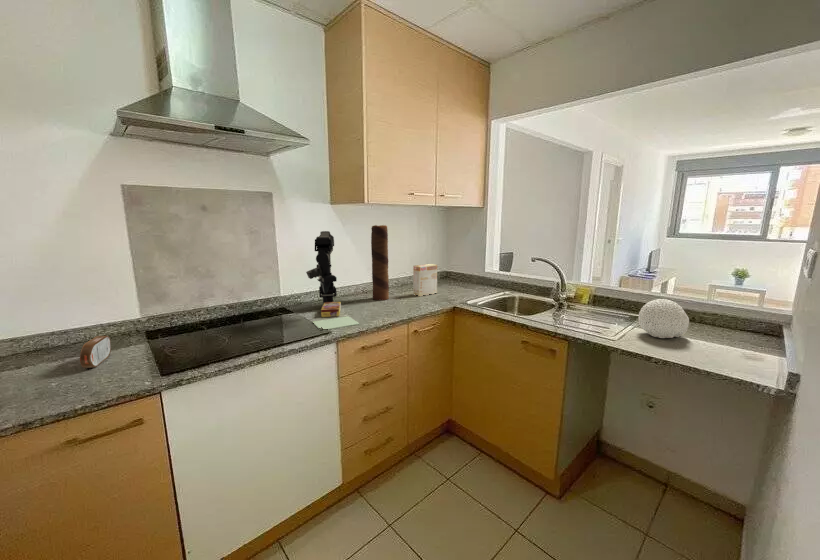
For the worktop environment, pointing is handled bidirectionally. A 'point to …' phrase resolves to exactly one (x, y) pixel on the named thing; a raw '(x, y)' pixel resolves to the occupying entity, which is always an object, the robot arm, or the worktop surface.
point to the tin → (95, 351)
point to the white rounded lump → (663, 319)
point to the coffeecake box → (424, 279)
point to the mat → (336, 323)
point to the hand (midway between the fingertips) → (325, 293)
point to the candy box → (331, 309)
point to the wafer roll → (380, 262)
